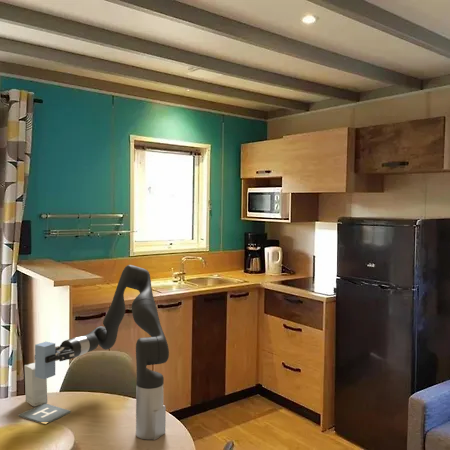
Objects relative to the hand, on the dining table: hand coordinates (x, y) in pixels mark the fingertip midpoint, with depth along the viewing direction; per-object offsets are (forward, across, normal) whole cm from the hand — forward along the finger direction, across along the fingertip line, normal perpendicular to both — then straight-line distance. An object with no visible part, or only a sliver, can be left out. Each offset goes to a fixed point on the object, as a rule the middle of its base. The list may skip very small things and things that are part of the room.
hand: (40, 358), depth 174 cm
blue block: (-2, 0, +7) cm, 7 cm away
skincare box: (-8, -12, +22) cm, 26 cm away
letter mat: (-2, 0, +21) cm, 21 cm away
